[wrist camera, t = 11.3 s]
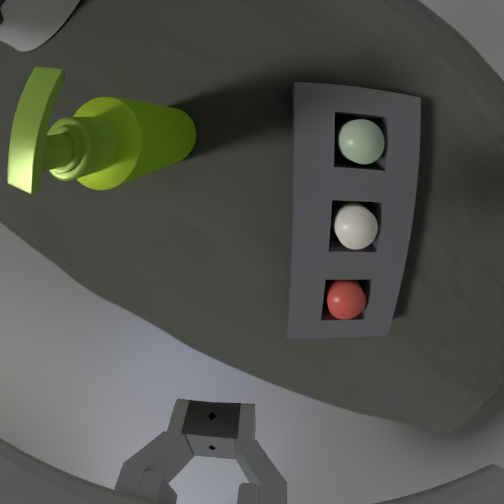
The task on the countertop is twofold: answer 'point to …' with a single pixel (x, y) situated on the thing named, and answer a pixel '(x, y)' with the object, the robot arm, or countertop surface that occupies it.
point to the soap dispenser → (92, 138)
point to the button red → (344, 298)
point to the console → (349, 189)
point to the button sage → (359, 141)
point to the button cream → (354, 225)
